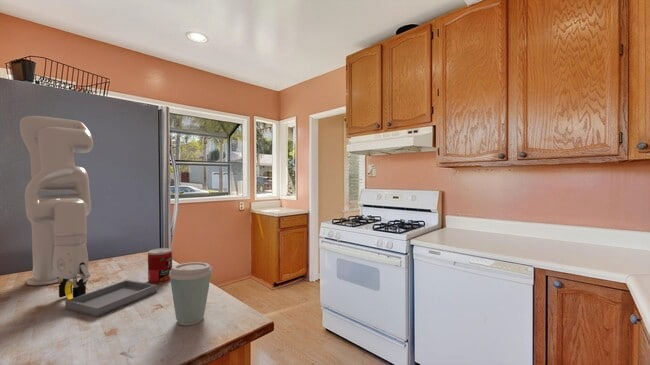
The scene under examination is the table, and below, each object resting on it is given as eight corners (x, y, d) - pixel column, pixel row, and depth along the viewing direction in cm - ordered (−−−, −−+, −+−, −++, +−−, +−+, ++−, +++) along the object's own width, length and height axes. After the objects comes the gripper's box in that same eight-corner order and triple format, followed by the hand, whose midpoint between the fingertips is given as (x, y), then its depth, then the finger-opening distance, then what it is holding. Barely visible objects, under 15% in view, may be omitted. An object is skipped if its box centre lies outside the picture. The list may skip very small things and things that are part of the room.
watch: (82, 300, 90) (83, 281, 90) (72, 303, 88) (72, 284, 88) (72, 295, 93) (72, 277, 93) (61, 298, 90) (62, 280, 90)
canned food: (162, 284, 103) (161, 253, 102) (142, 282, 104) (142, 252, 104) (177, 277, 110) (176, 248, 110) (159, 275, 112) (158, 247, 111)
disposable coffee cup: (182, 310, 83) (182, 258, 83) (219, 310, 83) (219, 258, 82) (160, 330, 72) (159, 270, 72) (202, 330, 72) (202, 271, 72)
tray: (65, 309, 84) (65, 300, 83) (127, 286, 100) (126, 279, 100) (97, 317, 79) (97, 308, 79) (156, 292, 96) (156, 284, 96)
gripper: (39, 240, 89) (40, 297, 90) (74, 245, 83) (76, 306, 84) (68, 235, 96) (69, 289, 97) (102, 239, 90) (103, 296, 91)
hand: (72, 296), depth 90 cm, fingers closed on watch, 6 cm apart
